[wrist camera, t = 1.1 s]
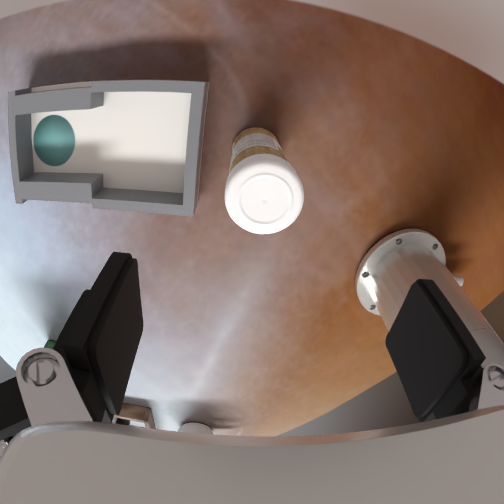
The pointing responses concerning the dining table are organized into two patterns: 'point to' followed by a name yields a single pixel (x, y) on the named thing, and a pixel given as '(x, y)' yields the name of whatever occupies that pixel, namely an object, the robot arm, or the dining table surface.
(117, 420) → the grey red patterned block
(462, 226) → the dining table surface
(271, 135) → the spice jar
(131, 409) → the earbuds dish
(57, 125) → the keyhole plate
